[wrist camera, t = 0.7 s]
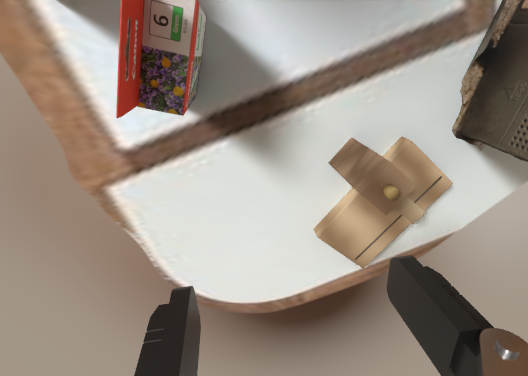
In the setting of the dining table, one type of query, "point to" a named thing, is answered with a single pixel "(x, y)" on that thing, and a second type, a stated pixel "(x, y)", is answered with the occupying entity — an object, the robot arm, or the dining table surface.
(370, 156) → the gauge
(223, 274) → the dining table surface
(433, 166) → the board
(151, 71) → the ink box
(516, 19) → the radio
